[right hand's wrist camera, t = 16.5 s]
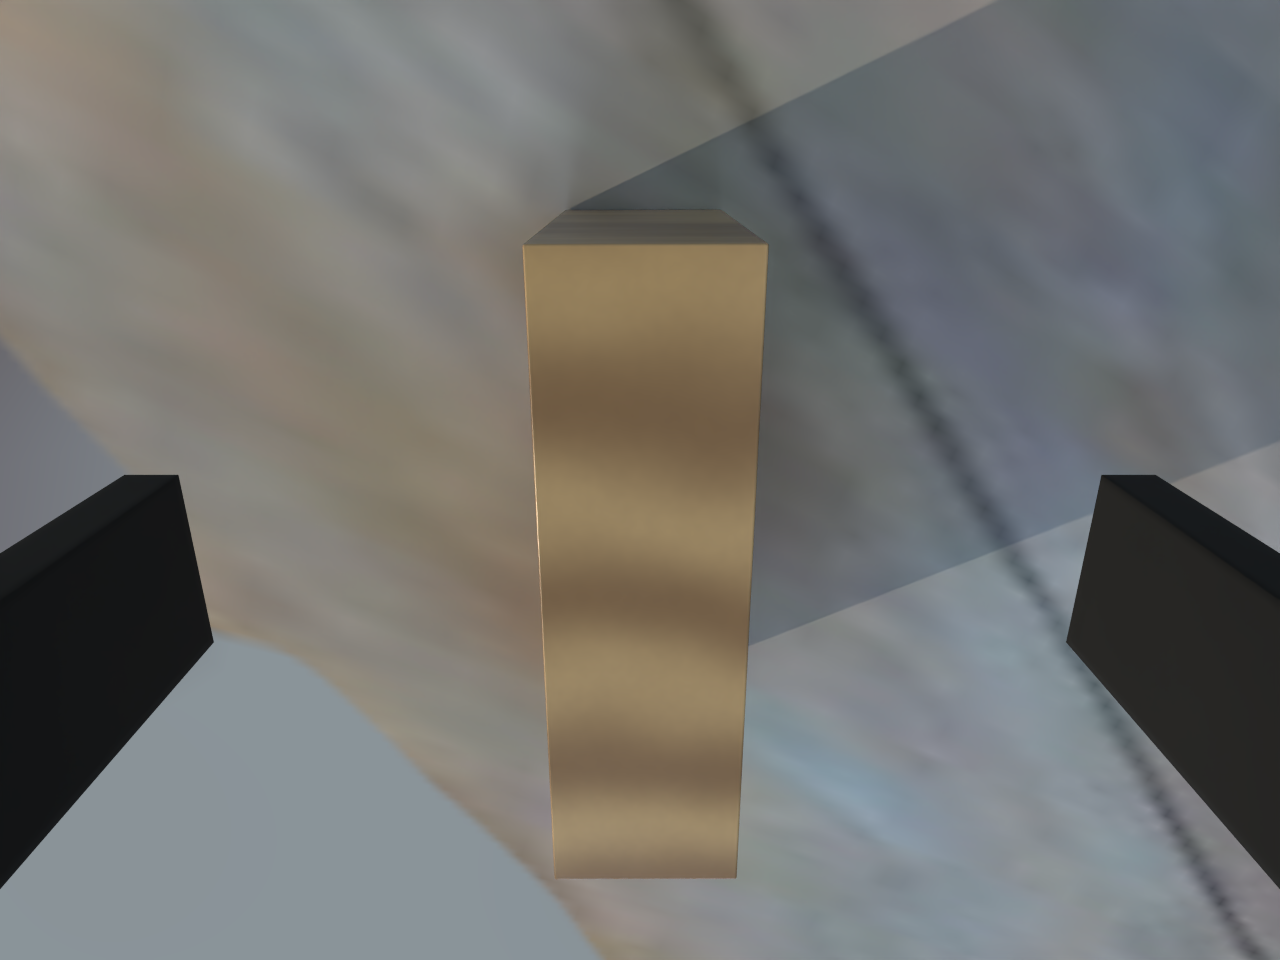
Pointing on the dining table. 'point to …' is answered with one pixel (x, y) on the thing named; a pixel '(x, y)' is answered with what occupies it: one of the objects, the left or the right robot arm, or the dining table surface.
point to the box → (645, 530)
